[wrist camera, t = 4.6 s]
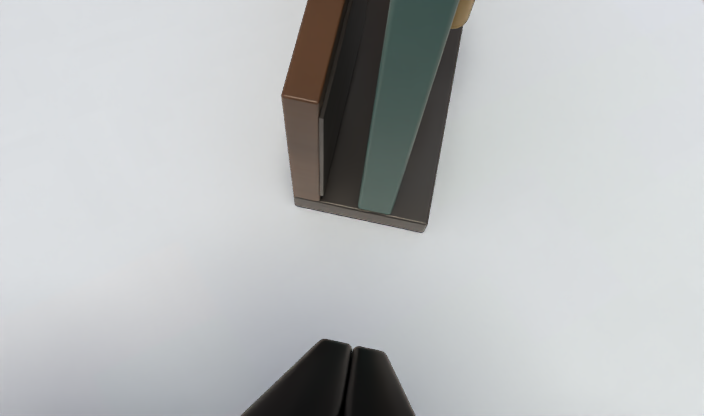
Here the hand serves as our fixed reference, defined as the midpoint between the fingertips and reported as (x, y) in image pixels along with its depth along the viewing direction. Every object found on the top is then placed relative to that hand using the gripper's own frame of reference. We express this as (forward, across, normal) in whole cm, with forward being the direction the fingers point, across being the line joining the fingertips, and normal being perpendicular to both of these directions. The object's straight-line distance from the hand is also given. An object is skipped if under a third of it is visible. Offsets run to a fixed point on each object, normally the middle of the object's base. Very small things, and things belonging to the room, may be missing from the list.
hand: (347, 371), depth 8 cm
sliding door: (+12, 0, +1) cm, 12 cm away
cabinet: (+15, 0, -1) cm, 15 cm away
